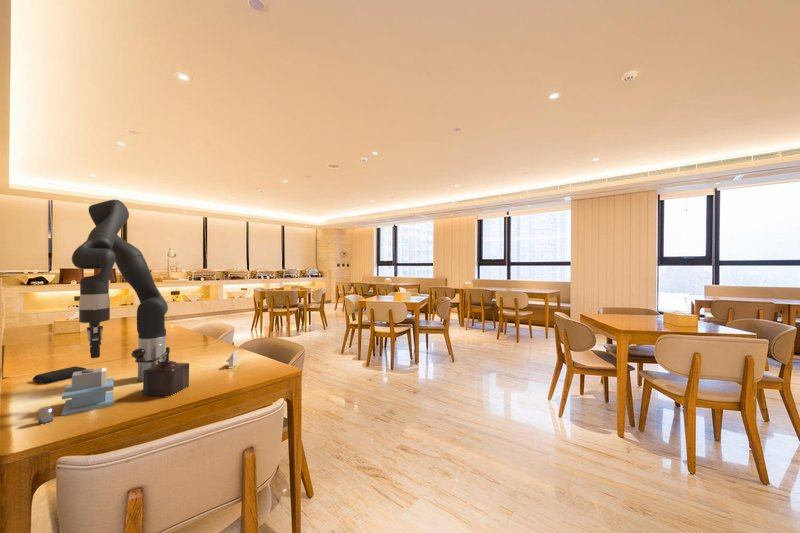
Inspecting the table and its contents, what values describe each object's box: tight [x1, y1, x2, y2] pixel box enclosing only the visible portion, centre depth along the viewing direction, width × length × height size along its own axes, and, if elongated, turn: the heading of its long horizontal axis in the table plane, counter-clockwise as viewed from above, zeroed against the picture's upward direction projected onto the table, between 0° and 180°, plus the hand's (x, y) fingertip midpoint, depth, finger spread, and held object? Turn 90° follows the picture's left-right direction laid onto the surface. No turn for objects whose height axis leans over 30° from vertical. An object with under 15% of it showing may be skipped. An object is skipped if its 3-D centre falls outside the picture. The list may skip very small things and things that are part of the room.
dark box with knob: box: [131, 346, 190, 398], centre depth 118 cm, size 16×11×18 cm
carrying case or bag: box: [31, 366, 87, 385], centre depth 134 cm, size 11×3×15 cm
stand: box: [61, 377, 115, 416], centre depth 109 cm, size 12×12×6 cm
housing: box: [71, 367, 108, 391], centre depth 109 cm, size 8×5×6 cm, turn 131°
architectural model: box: [224, 349, 239, 368], centre depth 152 cm, size 3×7×7 cm, turn 7°
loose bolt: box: [37, 406, 54, 425], centre depth 96 cm, size 3×3×4 cm
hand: (94, 355), depth 109 cm, fingers open, 8 cm apart
